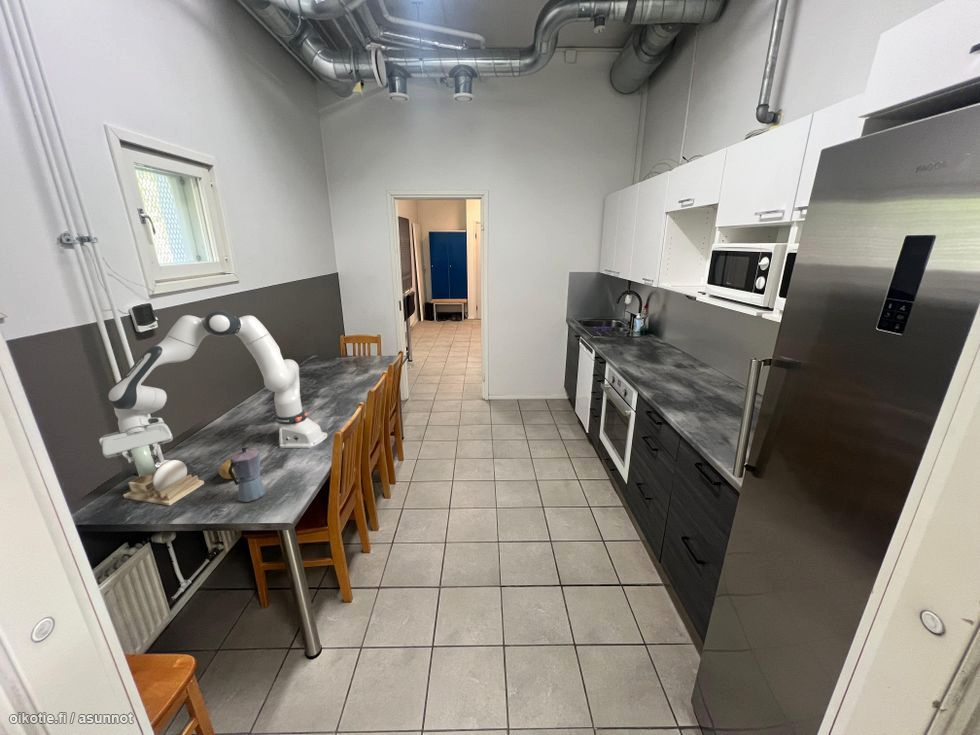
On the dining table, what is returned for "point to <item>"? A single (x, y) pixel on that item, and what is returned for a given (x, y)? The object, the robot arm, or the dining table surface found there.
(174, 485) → the rack
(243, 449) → the moka pot
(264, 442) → the dining table surface
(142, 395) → the robot arm
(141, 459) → the pale green glossy part
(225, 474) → the potato
